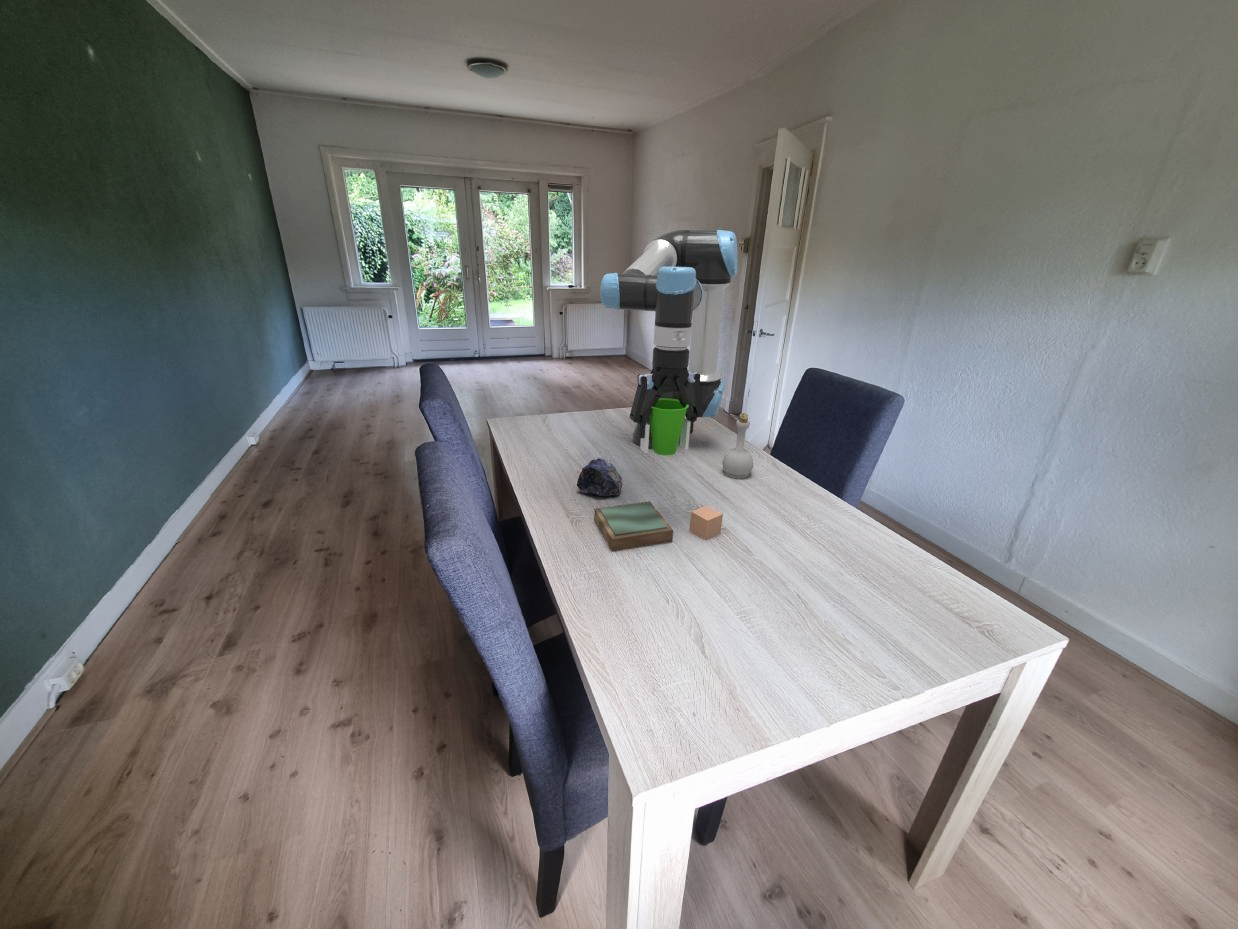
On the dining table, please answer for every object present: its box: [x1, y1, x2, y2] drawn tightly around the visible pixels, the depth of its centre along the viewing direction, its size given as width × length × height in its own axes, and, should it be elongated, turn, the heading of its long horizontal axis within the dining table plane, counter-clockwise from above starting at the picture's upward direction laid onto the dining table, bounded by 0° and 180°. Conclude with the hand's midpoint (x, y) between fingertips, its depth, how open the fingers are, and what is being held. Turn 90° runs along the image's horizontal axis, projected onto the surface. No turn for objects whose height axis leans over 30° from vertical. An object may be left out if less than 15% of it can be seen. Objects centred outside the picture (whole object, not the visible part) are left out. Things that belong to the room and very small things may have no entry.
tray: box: [593, 500, 674, 552], centre depth 112 cm, size 14×14×3 cm
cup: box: [650, 398, 689, 456], centre depth 108 cm, size 9×9×11 cm
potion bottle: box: [721, 412, 755, 479], centre depth 140 cm, size 9×9×18 cm
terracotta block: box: [689, 505, 724, 541], centre depth 112 cm, size 5×5×5 cm
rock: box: [576, 457, 624, 497], centre depth 129 cm, size 11×10×10 cm
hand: (664, 449), depth 110 cm, fingers closed on cup, 9 cm apart
